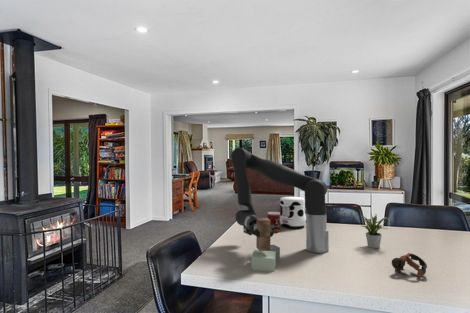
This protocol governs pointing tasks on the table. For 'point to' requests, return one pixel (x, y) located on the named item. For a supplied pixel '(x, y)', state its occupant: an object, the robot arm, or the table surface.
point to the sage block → (263, 260)
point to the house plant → (373, 232)
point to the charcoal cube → (275, 248)
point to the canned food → (274, 220)
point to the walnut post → (263, 234)
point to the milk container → (292, 212)
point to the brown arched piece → (400, 263)
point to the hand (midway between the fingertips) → (265, 234)
